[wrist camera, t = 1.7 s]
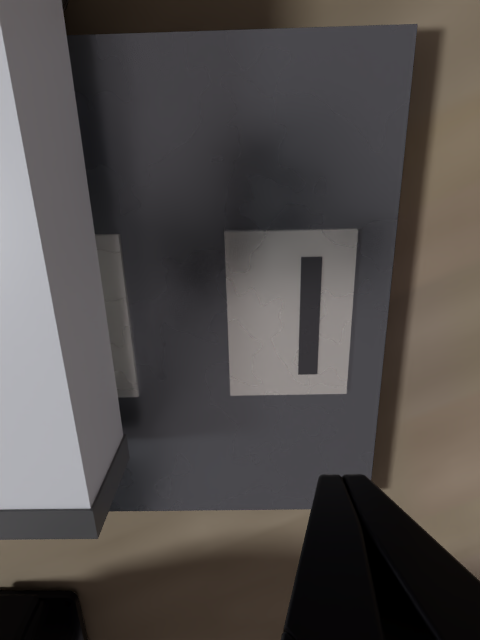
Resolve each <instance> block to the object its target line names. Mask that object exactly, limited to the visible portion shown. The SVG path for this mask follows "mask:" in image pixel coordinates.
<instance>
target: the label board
mask: <svg viewBox="0 0 480 640" xmlns="http://www.w3.org/2000/svg"><path fill="white" fill-rule="evenodd" d="M67 3H68V0H62V7H63V12H64V10H65V8H66V6H67ZM416 34H417V24H404V25H373V26H342V27H311V28H280V29H249V30H218V31H188V32H157V33H126V34H95V35H67V42H68V49H69V56H70V63H71V70H72V77H73V84H74V91H75V98H76V105H77V112H78V119H79V127H80V134H81V141H82V148H83V155H84V162H85V169H86V176H87V183H88V190H89V197H90V204H91V211H92V218H93V225H94V232H95V239H96V246H97V253H98V260H99V268H100V275H101V282H102V289H103V296H104V303H105V310H106V317H107V324H108V331H109V338H110V345H111V352H112V359H113V366H114V373H115V380H116V387H117V394H118V401H119V409H120V416H121V423H122V430H123V434H126V435H127V443H128V450H129V457H130V458H129V461H128V463H127V466H126V468H125V471H124V473H123V476H122V479H121V481H120V484H119V486H118V489H117V491H116V494H115V496H114V499H113V501H112V504H111V507H110V509H109V511H181V510H275V509H311V508H312V504H313V500H314V495H315V491H316V487H317V482H318V478H319V476H320V475H322V474H339V475H340V476H341V477H342V476H343V475H344V474H363V475H365V476H366V477H368V478H369V479H370V480H371V476H372V466H373V457H374V447H375V437H376V427H377V417H378V407H379V398H380V388H381V378H382V368H383V358H384V348H385V339H386V329H387V319H388V309H389V299H390V290H391V280H392V270H393V260H394V250H395V240H396V231H397V221H398V211H399V201H400V191H401V181H402V172H403V162H404V152H405V142H406V132H407V122H408V113H409V103H410V93H411V83H412V73H413V63H414V54H415V44H416Z"/></svg>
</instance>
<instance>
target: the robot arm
mask: <svg viewBox="0 0 480 640" xmlns="http://www.w3.org/2000/svg"><path fill="white" fill-rule="evenodd" d="M0 640H88V639H87V635H86V630H85V626H84V621H83V617H82V612H81V608H80V603H79V598H78V596H77V594H76V593H74V592H72V591H0ZM281 640H480V581H479V580H478V579H477V578H476V577H475V576H474V575H472V574H471V573H470V572H469V571H468V570H467V569H466V568H465V567H464V566H463V565H462V564H461V563H460V562H458V561H457V560H456V559H455V558H454V557H453V556H452V555H451V554H450V553H449V552H448V551H447V550H445V549H444V548H443V547H442V546H441V545H440V544H439V543H438V542H437V541H436V540H435V539H434V538H432V537H431V536H430V535H429V534H428V533H427V532H426V531H425V530H424V529H423V528H422V527H421V526H419V525H418V524H417V523H416V522H415V521H414V520H413V519H412V518H411V517H410V516H409V515H408V514H407V513H405V512H404V511H403V510H402V509H401V508H400V507H399V506H398V505H397V504H396V503H395V502H394V501H392V500H391V499H390V498H389V497H388V496H387V495H386V494H385V493H384V492H383V491H382V490H381V489H379V488H378V487H377V486H376V485H375V484H374V483H373V482H372V481H371V480H370V479H369V478H368V477H366V476H365V475H363V474H344V475H343V476H342V477H341V476H340V475H339V474H322V475H320V476H319V478H318V482H317V487H316V491H315V495H314V500H313V504H312V508H311V512H310V517H309V521H308V525H307V530H306V534H305V538H304V543H303V547H302V551H301V556H300V560H299V564H298V569H297V573H296V577H295V582H294V586H293V590H292V595H291V599H290V603H289V608H288V612H287V616H286V621H285V625H284V633H283V634H282V637H281Z"/></svg>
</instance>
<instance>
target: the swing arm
mask: <svg viewBox="0 0 480 640" xmlns="http://www.w3.org/2000/svg"><path fill="white" fill-rule="evenodd" d="M129 458H130V457H129V450H128V443H127V435H126V434H123V430H122V423H121V416H120V409H119V401H118V394H117V387H116V380H115V373H114V366H113V359H112V352H111V345H110V338H109V331H108V324H107V317H106V310H105V303H104V296H103V289H102V282H101V275H100V268H99V260H98V253H97V246H96V239H95V232H94V225H93V218H92V211H91V204H90V197H89V190H88V183H87V176H86V169H85V162H84V155H83V148H82V141H81V134H80V127H79V119H78V112H77V105H76V98H75V91H74V84H73V77H72V70H71V63H70V56H69V49H68V42H67V35H66V28H65V21H64V14H63V7H62V0H0V540H8V539H98V537H99V534H100V532H101V529H102V527H103V524H104V522H105V519H106V517H107V514H108V512H109V509H110V507H111V504H112V501H113V499H114V496H115V494H116V491H117V489H118V486H119V484H120V481H121V479H122V476H123V473H124V471H125V468H126V466H127V463H128V461H129Z"/></svg>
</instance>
